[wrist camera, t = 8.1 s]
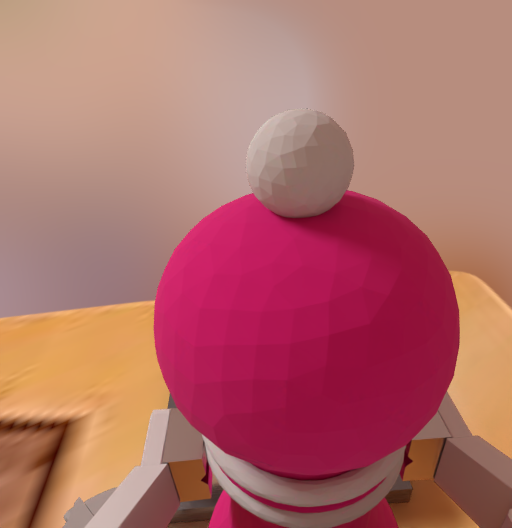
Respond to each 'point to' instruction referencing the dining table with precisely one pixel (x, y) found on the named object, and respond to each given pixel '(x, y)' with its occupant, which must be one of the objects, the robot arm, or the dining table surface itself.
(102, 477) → the dining table surface
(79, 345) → the dining table surface
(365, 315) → the pepper mill
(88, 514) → the adjustable wrench
